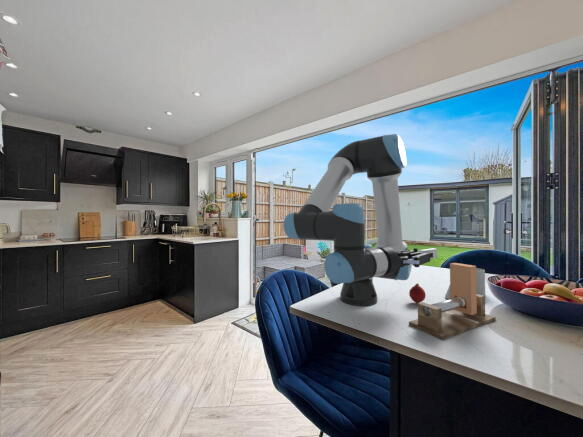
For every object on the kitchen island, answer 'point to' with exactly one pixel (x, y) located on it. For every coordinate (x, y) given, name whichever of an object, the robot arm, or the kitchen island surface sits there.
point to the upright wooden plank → (464, 286)
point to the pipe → (447, 305)
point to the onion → (417, 293)
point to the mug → (480, 281)
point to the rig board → (450, 320)
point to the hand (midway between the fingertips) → (434, 252)
